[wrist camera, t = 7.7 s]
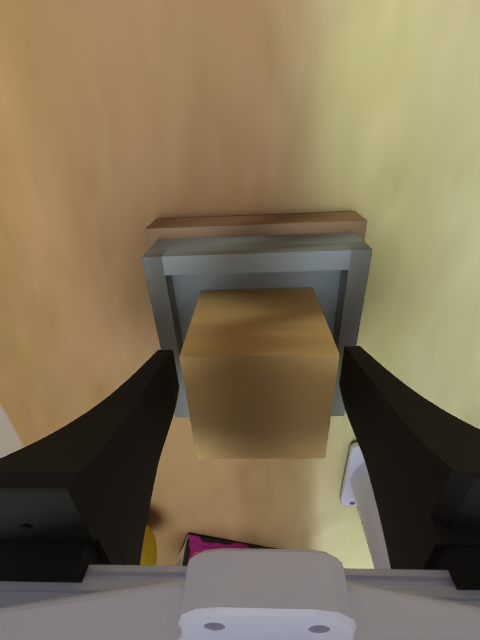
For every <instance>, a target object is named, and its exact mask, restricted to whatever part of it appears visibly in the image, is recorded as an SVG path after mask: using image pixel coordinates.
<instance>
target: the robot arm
mask: <svg viewBox="0 0 480 640" xmlns="http://www.w3.org/2000/svg"><path fill="white" fill-rule="evenodd" d="M339 387H340V392H341V396H342V400H343V404H344V407H345V410H346V413H347V415H348V418H349V421H350V423H351V426H352V429H353V431H354V434H355V436H356V439H357V441H358V442H357V443H353V444H352V445H351V446H350V451H349V456H348V461H347V466H346V471H345V476H344V481H343V486H342V491H341V496H340V502H341V505H343V506H357V508H358V512H359V515H360V519H361V522H362V526H363V529H364V533H365V536H366V540H367V543H368V547H369V550H370V554H371V557H372V561H373V565H374V568H375V569H344V568H343V565H342V562H341V561H340V560H338V559H337V558H335V557H334V556H332V555H330V554H328V553H326V552H322V551H315V550H308V549H240V548H220V549H211V550H204V551H202V552H200V553H199V554H197V555H195V556H193V557H192V558H191V559H190V560H189V562H188V566H152V565H140V561H141V554H142V547H143V541H144V535H145V529H146V523H147V517H148V512H149V507H150V501H151V496H152V491H153V486H154V481H155V476H156V472H157V467H158V463H159V459H160V456H161V452H162V449H163V446H164V443H165V440H166V437H167V434H168V430H169V427H170V424H171V421H172V418H173V415H174V411H175V408H176V403H177V398H178V392H179V381H178V375H177V370H176V365H175V360H174V354H173V350H158V351H157V352H156V353H155V354H154V355H153V356H152V357H151V358H150V359H149V360H148V361H147V362H146V363H145V364H144V365H143V366H142V367H141V368H140V369H139V370H138V371H137V372H136V373H134V374H133V375H132V376H131V377H130V378H129V379H128V380H127V381H126V382H125V383H124V384H122V385H121V386H120V387H119V388H118V389H117V390H116V391H114V392H113V393H112V394H111V395H110V396H108V397H107V398H106V399H105V400H103V401H102V402H101V403H99V404H98V405H96V406H95V407H94V408H92V409H91V410H90V411H88V412H87V413H85V414H83V415H82V416H80V417H79V418H77V419H76V420H74V421H72V422H71V423H69V424H68V425H66V426H64V427H63V428H61V429H59V430H57V431H56V432H54V433H52V434H50V435H48V436H46V437H44V438H43V439H41V440H39V441H37V442H35V443H33V444H31V445H29V446H26V447H24V448H22V449H20V450H18V451H16V452H13V453H11V454H9V455H7V456H5V457H3V458H0V640H480V429H478V428H476V427H474V426H472V425H470V424H468V423H466V422H464V421H462V420H460V419H458V418H457V417H455V416H453V415H451V414H449V413H448V412H446V411H444V410H442V409H441V408H439V407H438V406H436V405H434V404H433V403H431V402H430V401H428V400H427V399H425V398H424V397H422V396H421V395H419V394H418V393H416V392H415V391H414V390H412V389H411V388H409V387H408V386H407V385H405V384H404V383H403V382H401V381H400V380H399V379H398V378H396V377H395V376H394V375H393V374H391V373H390V372H389V371H388V370H387V369H385V368H384V367H383V366H382V365H381V364H380V363H378V362H377V361H376V360H375V359H374V358H373V357H372V356H370V355H369V354H368V353H367V352H366V351H365V350H364V349H362V348H361V347H360V346H344V352H343V359H342V366H341V373H340V379H339Z"/></svg>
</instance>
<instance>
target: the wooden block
mask: <svg viewBox="0 0 480 640" xmlns="http://www.w3.org/2000/svg"><path fill="white" fill-rule="evenodd" d="M339 356H340V354H339V352H338V349H337V347H336V344H335V342H334V339H333V337H332V334H331V332H330V329H329V327H328V324H327V322H326V319H325V317H324V314H323V312H322V309H321V307H320V304H319V302H318V300H317V297H316V295H315V292H314V290H313V287H298V288H259V289H221V290H201V292H200V295H199V298H198V301H197V304H196V307H195V310H194V313H193V316H192V320H191V323H190V326H189V329H188V332H187V335H186V338H185V341H184V344H183V347H182V350H181V353H180V357H179V358H180V364H181V369H182V375H183V381H184V387H185V392H186V398H187V404H188V410H189V415H190V421H191V427H192V433H193V438H194V444H195V450H196V455H197V458H325V452H326V445H327V439H328V432H329V425H330V418H331V411H332V404H333V397H334V390H335V383H336V377H337V370H338V363H339Z"/></svg>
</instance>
